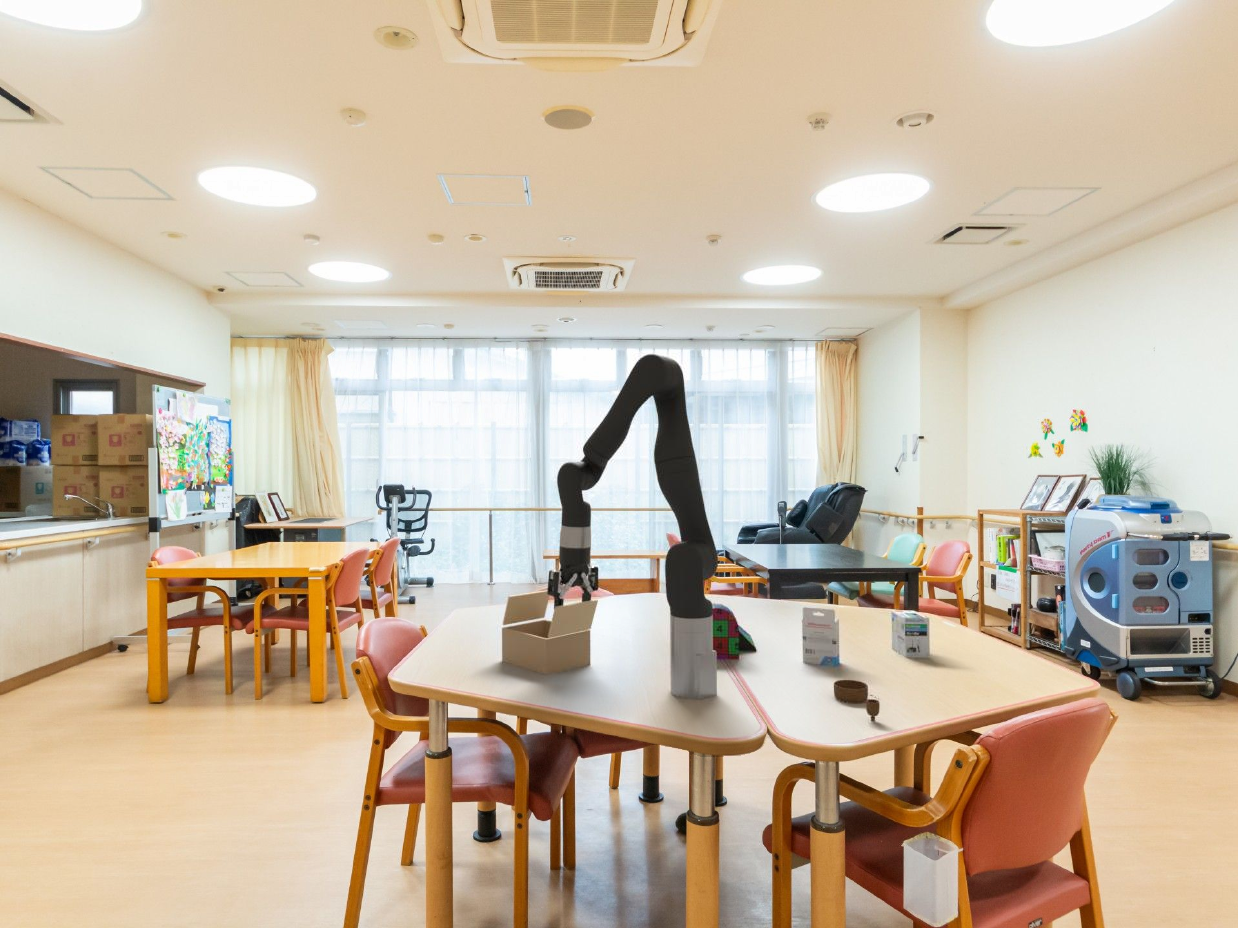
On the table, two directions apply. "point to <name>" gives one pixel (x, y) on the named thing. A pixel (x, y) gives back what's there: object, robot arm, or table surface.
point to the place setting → (856, 695)
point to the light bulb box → (910, 634)
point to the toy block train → (729, 634)
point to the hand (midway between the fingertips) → (572, 611)
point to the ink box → (820, 637)
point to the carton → (544, 647)
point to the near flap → (572, 618)
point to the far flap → (526, 607)
